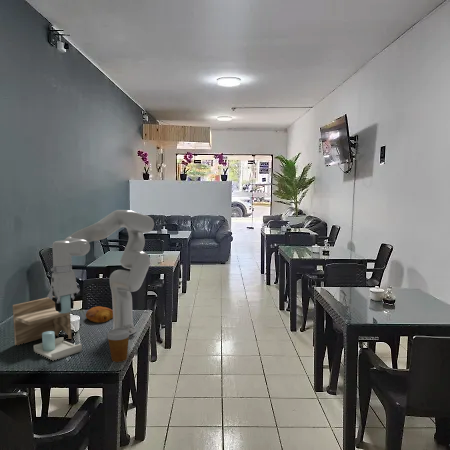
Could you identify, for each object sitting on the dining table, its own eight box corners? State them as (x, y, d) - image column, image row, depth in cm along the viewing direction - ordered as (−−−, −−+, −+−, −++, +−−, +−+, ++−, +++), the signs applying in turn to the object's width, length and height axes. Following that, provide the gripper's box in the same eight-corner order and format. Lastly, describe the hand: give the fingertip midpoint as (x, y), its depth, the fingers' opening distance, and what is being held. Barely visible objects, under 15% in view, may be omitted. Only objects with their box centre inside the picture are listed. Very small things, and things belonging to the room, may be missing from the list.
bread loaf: (93, 329, 228) (92, 315, 226) (82, 318, 239) (82, 304, 238) (118, 322, 237) (118, 309, 235) (106, 312, 248) (106, 299, 247)
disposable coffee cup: (110, 355, 186) (108, 328, 185) (132, 354, 187) (131, 327, 186) (105, 364, 177) (104, 336, 175) (129, 363, 177) (128, 335, 176)
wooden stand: (71, 339, 206) (69, 300, 204) (30, 352, 191) (28, 310, 189) (55, 333, 216) (53, 296, 214) (15, 344, 200) (12, 305, 198)
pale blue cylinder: (73, 311, 189) (72, 294, 188) (62, 314, 185) (61, 297, 184) (67, 309, 192) (66, 292, 192) (56, 312, 188) (55, 295, 188)
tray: (82, 350, 191) (81, 332, 191) (52, 361, 181) (51, 342, 180) (63, 343, 202) (62, 325, 201) (33, 352, 191) (32, 334, 190)
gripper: (48, 273, 178) (50, 316, 179) (85, 267, 191) (86, 306, 193) (39, 271, 183) (41, 312, 184) (75, 265, 196) (77, 304, 197)
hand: (64, 309), depth 188 cm, fingers closed on pale blue cylinder, 5 cm apart
